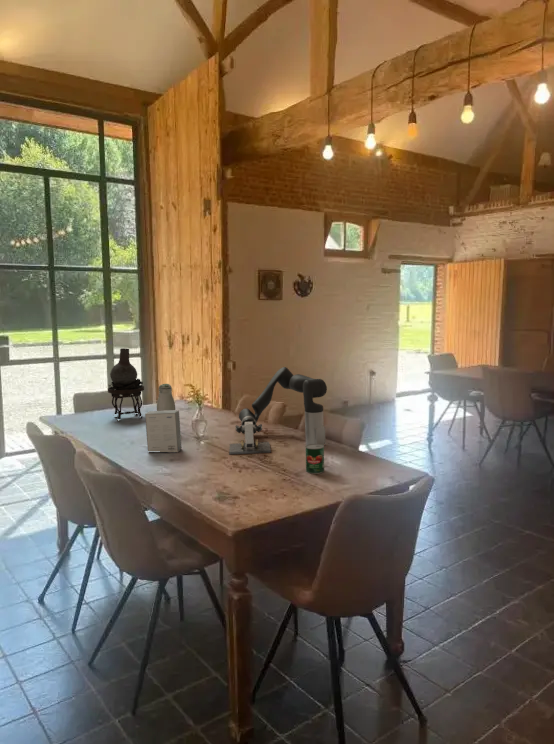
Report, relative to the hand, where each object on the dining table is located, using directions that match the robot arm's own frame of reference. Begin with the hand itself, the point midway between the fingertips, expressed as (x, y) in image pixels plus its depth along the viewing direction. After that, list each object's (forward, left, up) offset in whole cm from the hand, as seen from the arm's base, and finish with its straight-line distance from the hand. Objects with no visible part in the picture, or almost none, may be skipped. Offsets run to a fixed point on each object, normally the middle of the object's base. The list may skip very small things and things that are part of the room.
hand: (249, 432), depth 280 cm
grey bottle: (+65, +10, -10) cm, 67 cm away
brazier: (+122, +9, -10) cm, 123 cm away
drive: (+2, -2, -8) cm, 9 cm away
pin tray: (+2, -2, -9) cm, 10 cm away
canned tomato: (-47, -1, -10) cm, 48 cm away
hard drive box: (+30, +30, -10) cm, 44 cm away
